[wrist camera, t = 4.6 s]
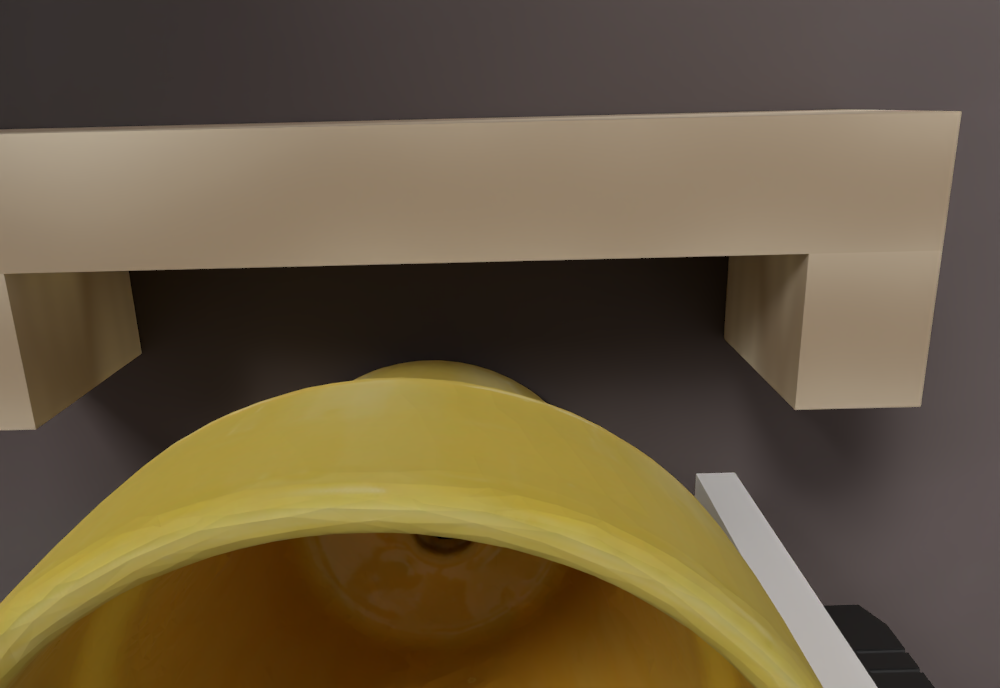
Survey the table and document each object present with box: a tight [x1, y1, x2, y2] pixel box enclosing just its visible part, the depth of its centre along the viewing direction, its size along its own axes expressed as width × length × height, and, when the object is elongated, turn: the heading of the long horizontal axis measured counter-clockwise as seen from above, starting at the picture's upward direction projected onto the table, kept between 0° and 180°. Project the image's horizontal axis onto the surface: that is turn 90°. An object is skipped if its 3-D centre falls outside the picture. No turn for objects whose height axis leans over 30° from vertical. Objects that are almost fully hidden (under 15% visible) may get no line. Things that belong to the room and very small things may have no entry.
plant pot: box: [0, 360, 823, 688], centre depth 13 cm, size 10×10×10 cm
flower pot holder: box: [0, 109, 962, 430], centre depth 16 cm, size 16×16×4 cm
